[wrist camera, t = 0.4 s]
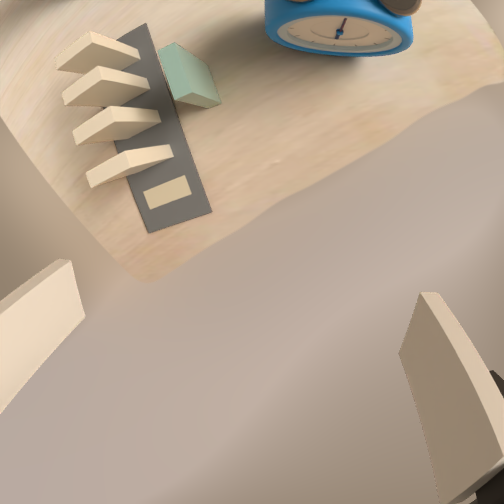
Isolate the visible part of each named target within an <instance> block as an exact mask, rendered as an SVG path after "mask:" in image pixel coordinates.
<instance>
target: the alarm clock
mask: <svg viewBox="0 0 504 504" xmlns="http://www.w3.org/2000/svg"><path fill="white" fill-rule="evenodd" d="M421 3H422V0H265V31H266V34H267V35H268V36H269V38H270V39H271V40H273V41H274V42H276V43H278V44H280V45H282V46H285V47H288V48H291V49H295V50H299V51H304V52H310V53H316V54H324V55H334V56H350V57H372V56H385V55H391V54H396V53H399V52H402V51H404V50H406V49H407V48H409V47H410V45H411V44H412V42H413V29H412V21H411V15H413V14H414V13H416V12H417V11H418V10H419V8H420V6H421Z"/></svg>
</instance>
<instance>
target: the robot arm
mask: <svg viewBox="0 0 504 504" xmlns="http://www.w3.org/2000/svg"><path fill="white" fill-rule="evenodd" d="M84 318H85V314H84V310H83V307H82V303H81V300H80V296H79V292H78V288H77V284H76V280H75V276H74V272H73V267H72V263H71V260H64V259H57V260H56V261H55V262H53V263H52V264H50V265H49V266H47V267H46V268H44V269H43V270H42V271H40V272H39V273H37V274H36V275H34V276H33V277H32V278H30V279H29V280H28V281H26V282H25V283H24V284H22V285H21V286H19V287H18V288H17V289H16V290H14V291H13V292H12V293H10V294H9V295H8V296H6V297H5V298H4V299H2V300H1V301H0V414H1V413H2V411H3V410H4V409H5V408H6V406H7V405H8V404H9V403H10V401H11V400H12V399H13V397H14V396H15V395H16V394H17V393H18V392H19V390H20V389H21V388H22V387H23V385H24V384H25V383H26V382H27V381H28V380H29V378H30V377H31V376H32V375H33V374H34V373H35V372H36V370H37V369H38V368H39V367H40V366H41V365H42V364H43V362H44V361H45V360H46V359H47V358H48V356H50V354H51V353H52V352H53V351H54V350H55V349H56V348H57V347H58V346H59V345H60V343H61V342H62V341H63V340H64V339H65V338H66V337H67V336H68V335H69V334H70V332H72V331H73V329H74V328H75V327H76V326H77V325H78V324H79V323H80V322H81V321H82V320H83V319H84ZM399 356H400V359H401V362H402V365H403V367H404V370H405V373H406V376H407V379H408V382H409V385H410V388H411V392H412V395H413V398H414V401H415V404H416V407H417V411H418V414H419V417H420V421H421V425H422V428H423V432H424V436H425V440H426V443H427V447H428V451H429V455H430V459H431V463H432V468H433V473H434V477H435V482H436V487H437V492H438V497H439V503H440V504H456V503H459V502H462V501H464V500H465V499H467V498H468V497H469V496H471V495H472V494H473V493H474V492H475V493H476V496H477V499H476V500H474V501H473V502H471V503H470V504H504V380H503V379H502V378H501V377H500V376H499V375H497V374H496V372H494V371H493V370H492V371H488V369H487V367H486V366H485V364H484V362H483V360H482V359H481V357H480V355H479V354H478V352H477V350H476V349H475V347H474V346H473V344H472V342H471V341H470V339H469V338H468V336H467V334H466V333H465V331H464V330H463V328H462V327H461V325H460V324H459V322H458V321H457V319H456V318H455V316H454V315H453V313H452V312H451V311H450V309H449V308H448V306H447V305H446V304H445V302H444V301H443V299H442V298H441V297H440V295H439V294H438V293H431V292H430V293H429V292H420V294H419V297H418V300H417V303H416V306H415V309H414V313H413V315H412V319H411V321H410V324H409V327H408V330H407V332H406V335H405V338H404V341H403V343H402V346H401V348H400V351H399Z"/></svg>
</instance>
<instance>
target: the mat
mask: <svg viewBox="0 0 504 504" xmlns="http://www.w3.org/2000/svg"><path fill="white" fill-rule="evenodd" d="M116 41H119V42H121V43H124V44H126V45H128V46H131V47H133V48H136V49H138V52H139V56H140V60H138V61H137V62H135V63H133V64H131V65H130V66H128V67H126V68H125V69H123V70H121V71H122V72H126V73H130V74H134V75H137V76H141V77H144V78H147V80H148V83H149V87H150V90H148V91H146V92H144V93H142V94H141V95H139V96H137V97H135V98H133V99H131V100H130V101H128V102H126V103H124V104H123V105H121V106H119V107H131V108H142V109H152V110H158V113H159V116H160V119H161V123H158V124H156V125H154V126H152V127H150V128H148V129H146V130H144V131H142V132H140V133H138V134H136V135H134V136H132V137H131V138H129V139H123V140H114V142H115V145H116V148H117V151H118V154H120V153H122V152H123V151H127V150H133V149H139V148H146V147H153V146H160V145H167V144H169V145H170V148H171V150H172V153H173V156H174V157H172V158H170V159H167V160H165V161H163V162H160V163H158V164H156V165H154V166H151V167H149V168H147V169H145V170H143V171H140V172H138V173H134V174H131V175H128V176H127V179H128V182H129V185H130V187H131V190H132V192H133V195H134V198H135V200H136V203H137V205H138V208H139V210H140V213H141V215H142V218H143V220H144V223H145V225H146V227H147V230H148V232H149V233H152V232H154V231H157V230H160V229H163V228H166V227H169V226H172V225H175V224H178V223H181V222H184V221H187V220H190V219H193V218H196V217H199V216H202V215H205V214H208V213H211V212H212V210H211V207H210V204H209V202H208V199H207V196H206V194H205V191H204V188H203V185H202V183H201V180H200V177H199V174H198V172H197V169H196V166H195V163H194V161H193V158H192V155H191V152H190V150H189V147H188V144H187V141H186V138H185V136H184V133H183V130H182V127H181V124H180V121H179V119H178V116H177V113H176V110H175V107H174V104H173V101H172V99H171V96H170V93H169V90H168V87H167V84H166V81H165V78H164V75H163V72H162V69H161V66H160V63H159V60H158V57H157V54H156V51H155V48H154V45H153V42H152V39H151V36H150V33H149V30H148V27H147V24H146V23H145V24H143V25H141V26H139V27H137V28H136V29H134V30H132V31H130V32H129V33H127V34H125V35H124V36H122V37H120V38H119V39H117V40H116ZM103 108H104V109H106V108H107V107H103Z"/></svg>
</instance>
